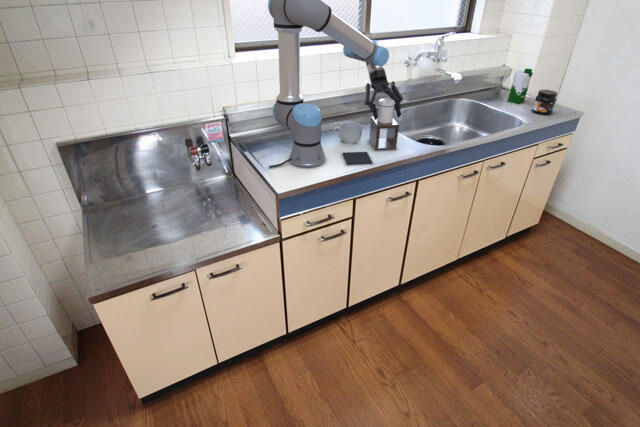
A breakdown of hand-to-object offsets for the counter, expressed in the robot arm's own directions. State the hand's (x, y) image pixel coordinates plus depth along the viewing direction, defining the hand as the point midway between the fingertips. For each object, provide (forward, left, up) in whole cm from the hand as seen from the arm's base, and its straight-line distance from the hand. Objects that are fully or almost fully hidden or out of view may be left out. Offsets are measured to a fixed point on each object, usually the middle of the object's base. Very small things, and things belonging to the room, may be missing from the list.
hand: (388, 117), depth 173 cm
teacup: (-16, +9, -15) cm, 24 cm away
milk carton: (+101, +61, -15) cm, 118 cm away
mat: (-15, -11, -15) cm, 24 cm away
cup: (0, +3, -3) cm, 4 cm away
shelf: (0, +3, -15) cm, 15 cm away
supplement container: (+105, +40, -15) cm, 113 cm away
